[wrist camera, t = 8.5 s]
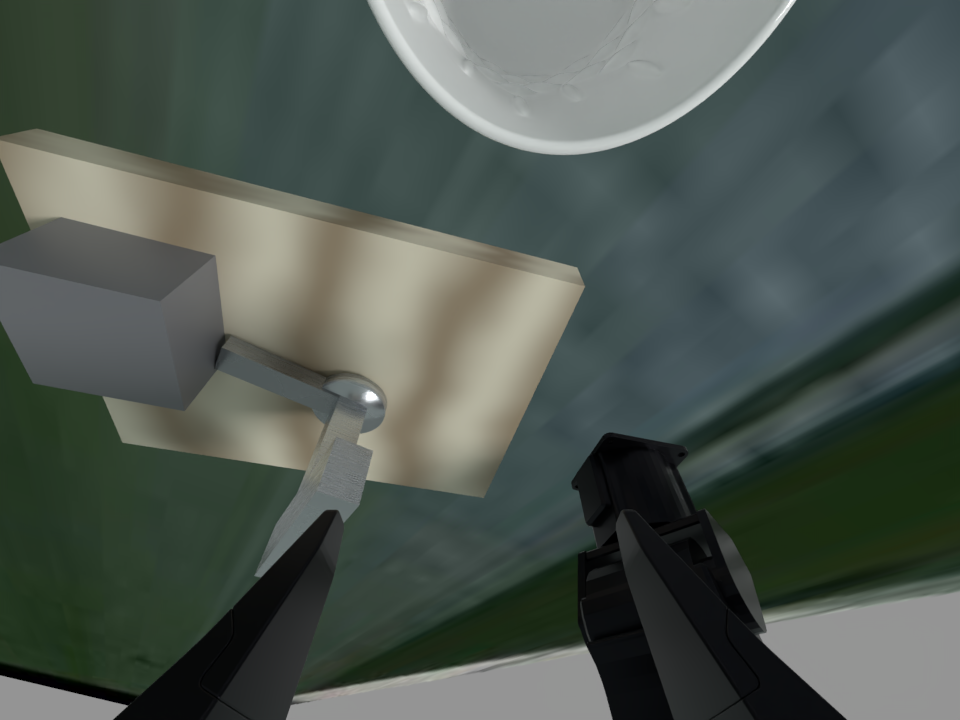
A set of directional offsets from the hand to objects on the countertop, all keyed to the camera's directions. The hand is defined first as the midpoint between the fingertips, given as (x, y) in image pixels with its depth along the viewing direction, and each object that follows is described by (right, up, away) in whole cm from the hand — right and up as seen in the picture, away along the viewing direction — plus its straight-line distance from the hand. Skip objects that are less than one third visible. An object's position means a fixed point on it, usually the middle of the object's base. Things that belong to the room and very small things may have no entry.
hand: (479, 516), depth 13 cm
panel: (-9, +5, +11) cm, 15 cm away
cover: (-16, +8, +6) cm, 19 cm away
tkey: (-9, +4, +9) cm, 14 cm away
